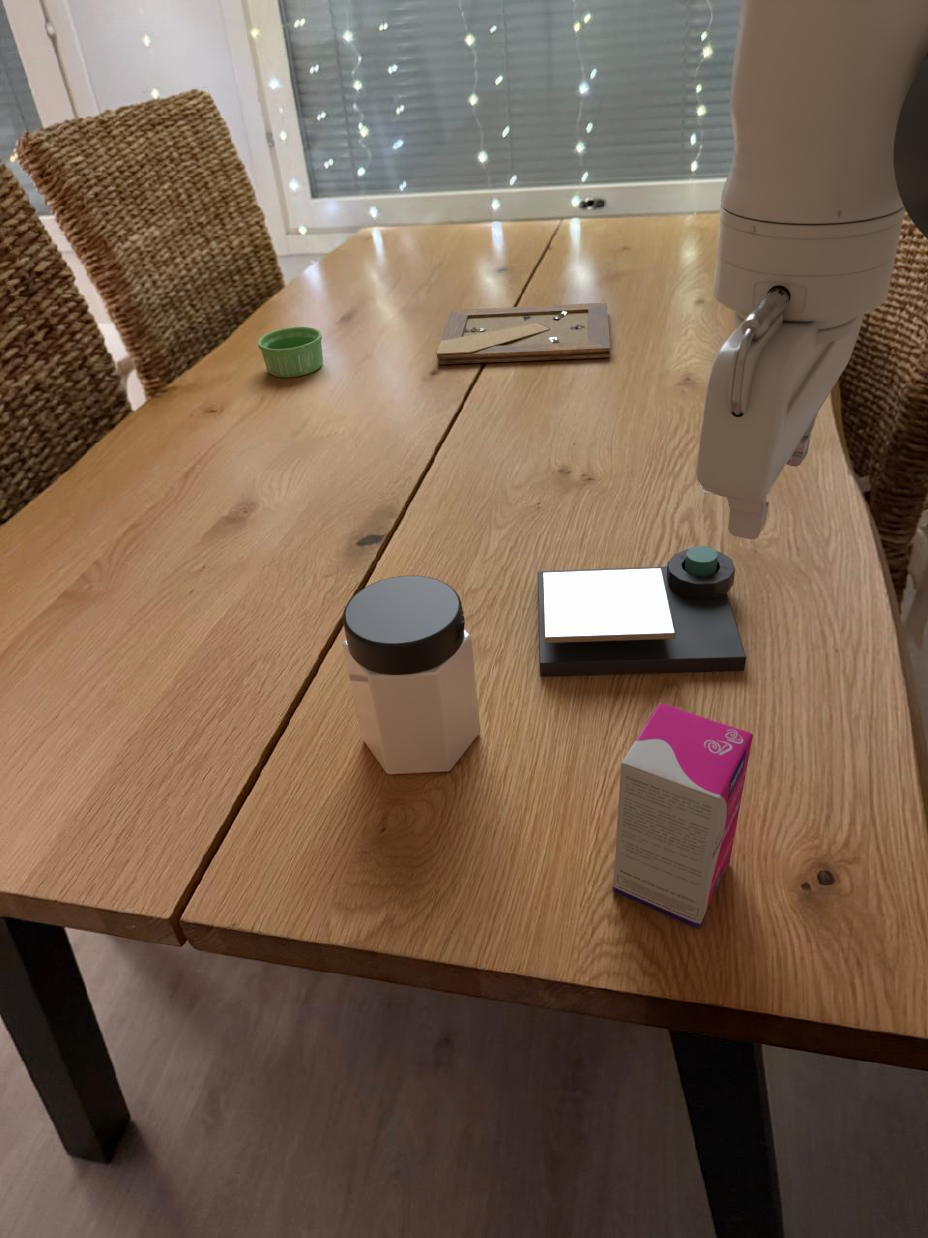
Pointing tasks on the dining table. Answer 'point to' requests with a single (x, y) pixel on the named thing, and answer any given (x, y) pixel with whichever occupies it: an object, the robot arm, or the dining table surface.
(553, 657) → the scale
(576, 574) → the scale pan
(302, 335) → the ramekin
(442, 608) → the jar
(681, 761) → the supplement box
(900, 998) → the dining table surface
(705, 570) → the tare button
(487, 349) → the picture frame
